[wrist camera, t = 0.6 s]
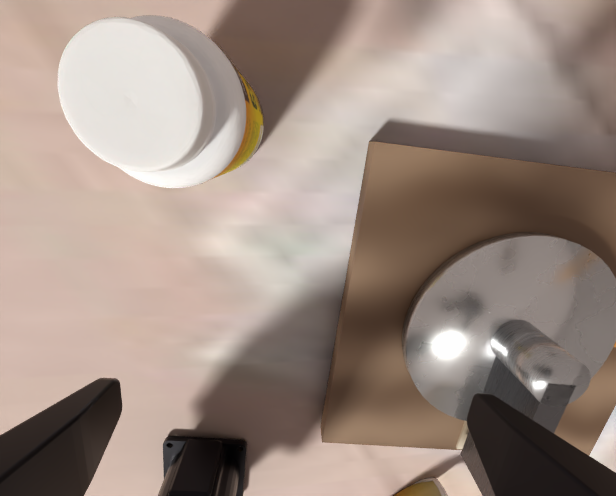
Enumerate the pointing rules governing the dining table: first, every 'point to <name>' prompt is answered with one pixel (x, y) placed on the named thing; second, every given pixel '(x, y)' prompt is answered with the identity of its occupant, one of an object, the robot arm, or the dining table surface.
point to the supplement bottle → (158, 100)
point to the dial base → (427, 259)
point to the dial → (511, 329)
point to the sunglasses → (424, 488)
